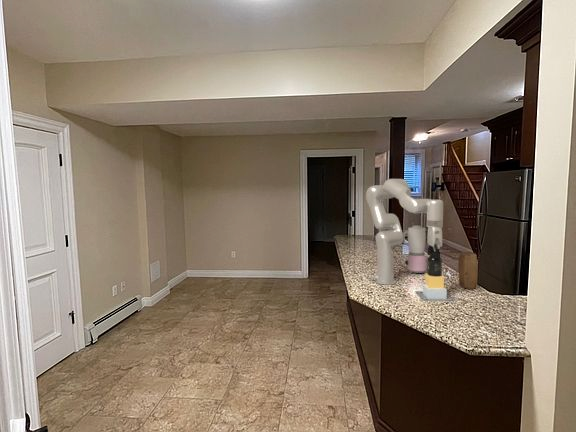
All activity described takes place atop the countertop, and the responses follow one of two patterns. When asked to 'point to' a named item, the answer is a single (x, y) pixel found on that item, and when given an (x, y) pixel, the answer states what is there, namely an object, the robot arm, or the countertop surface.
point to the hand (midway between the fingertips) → (433, 257)
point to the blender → (416, 249)
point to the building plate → (424, 298)
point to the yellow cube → (434, 281)
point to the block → (467, 270)
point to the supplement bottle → (434, 265)
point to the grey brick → (434, 292)
